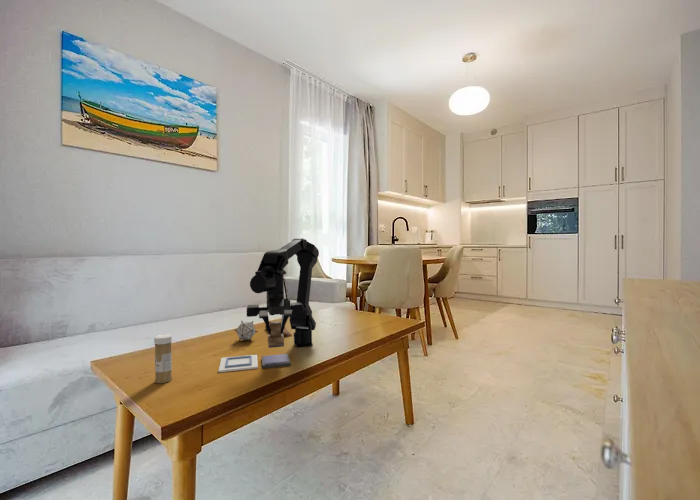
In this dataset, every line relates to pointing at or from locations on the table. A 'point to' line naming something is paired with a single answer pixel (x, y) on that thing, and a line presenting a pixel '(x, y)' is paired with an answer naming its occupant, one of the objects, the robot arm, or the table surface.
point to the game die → (246, 330)
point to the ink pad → (275, 361)
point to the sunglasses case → (284, 332)
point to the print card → (238, 363)
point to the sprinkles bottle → (163, 358)
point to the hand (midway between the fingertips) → (275, 334)
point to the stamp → (275, 335)
